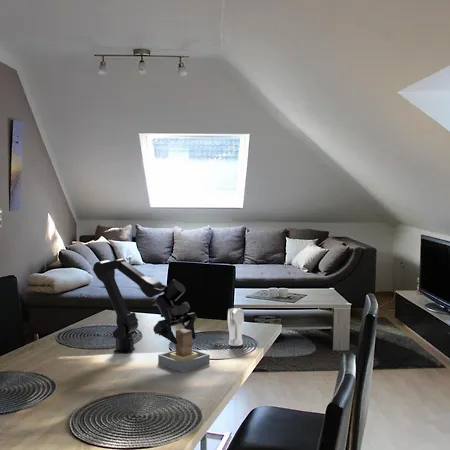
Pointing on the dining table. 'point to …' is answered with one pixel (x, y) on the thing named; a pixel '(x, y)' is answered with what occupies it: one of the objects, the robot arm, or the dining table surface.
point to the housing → (183, 360)
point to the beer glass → (235, 326)
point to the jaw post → (184, 342)
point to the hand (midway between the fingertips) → (186, 341)
